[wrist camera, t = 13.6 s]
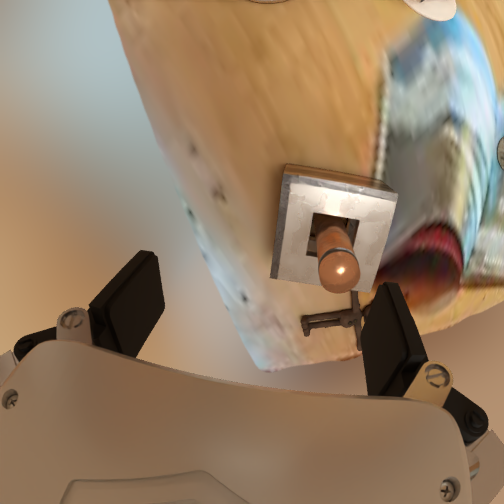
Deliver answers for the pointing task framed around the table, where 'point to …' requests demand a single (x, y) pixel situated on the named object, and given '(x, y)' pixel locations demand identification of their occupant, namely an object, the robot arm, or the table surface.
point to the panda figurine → (433, 8)
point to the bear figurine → (346, 318)
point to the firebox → (332, 203)
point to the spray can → (501, 152)
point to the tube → (335, 254)
